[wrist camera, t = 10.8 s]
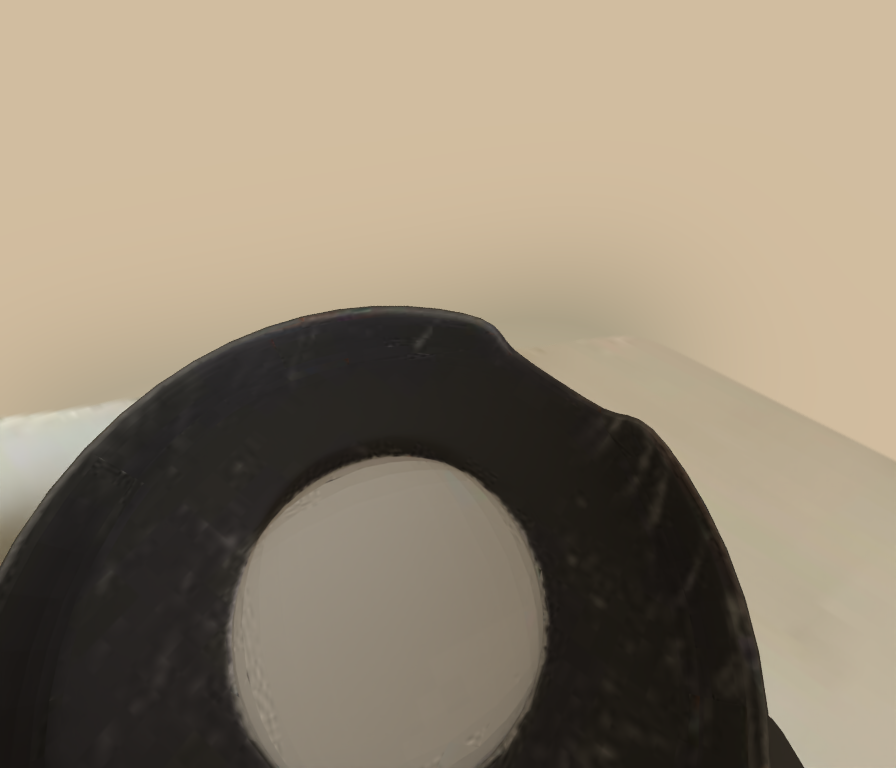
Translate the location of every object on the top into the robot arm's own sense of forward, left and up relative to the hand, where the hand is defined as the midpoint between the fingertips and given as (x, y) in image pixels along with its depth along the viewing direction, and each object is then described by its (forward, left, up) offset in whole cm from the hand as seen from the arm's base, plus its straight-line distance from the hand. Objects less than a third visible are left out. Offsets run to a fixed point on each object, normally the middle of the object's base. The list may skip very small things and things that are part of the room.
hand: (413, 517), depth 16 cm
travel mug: (0, +3, -9) cm, 9 cm away
